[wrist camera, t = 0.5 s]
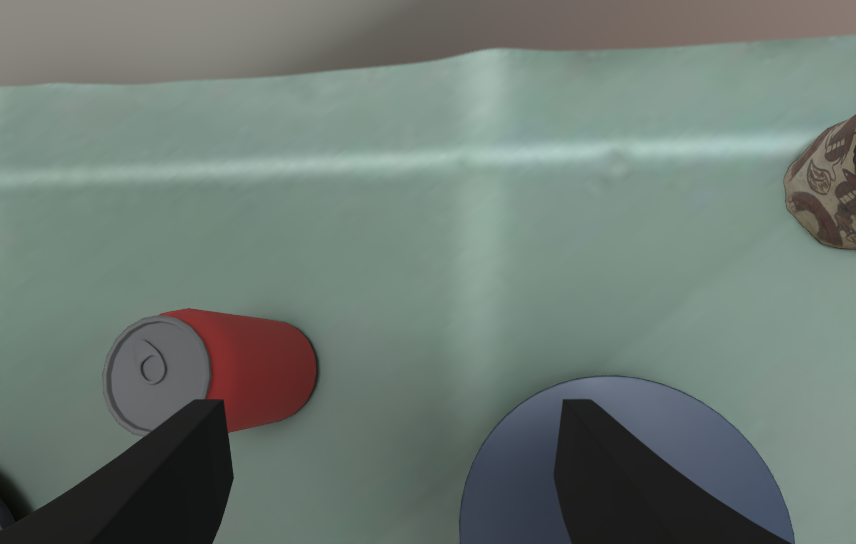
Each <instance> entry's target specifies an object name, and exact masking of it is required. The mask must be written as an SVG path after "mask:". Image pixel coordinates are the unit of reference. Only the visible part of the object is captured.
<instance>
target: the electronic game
mask: <svg viewBox="0 0 856 544" xmlns="http://www.w3.org/2000/svg"><path fill="white" fill-rule="evenodd" d="M14 523H15V520H14V518H13V517H12V515H11V513H10V511H9V509H8V508H7V506H6V505H5V503H4V502H3V501H2V499H1V498H0V531H1V530H3V529H5V528H6V527H8V526H10V525H12V524H14Z"/></svg>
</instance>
